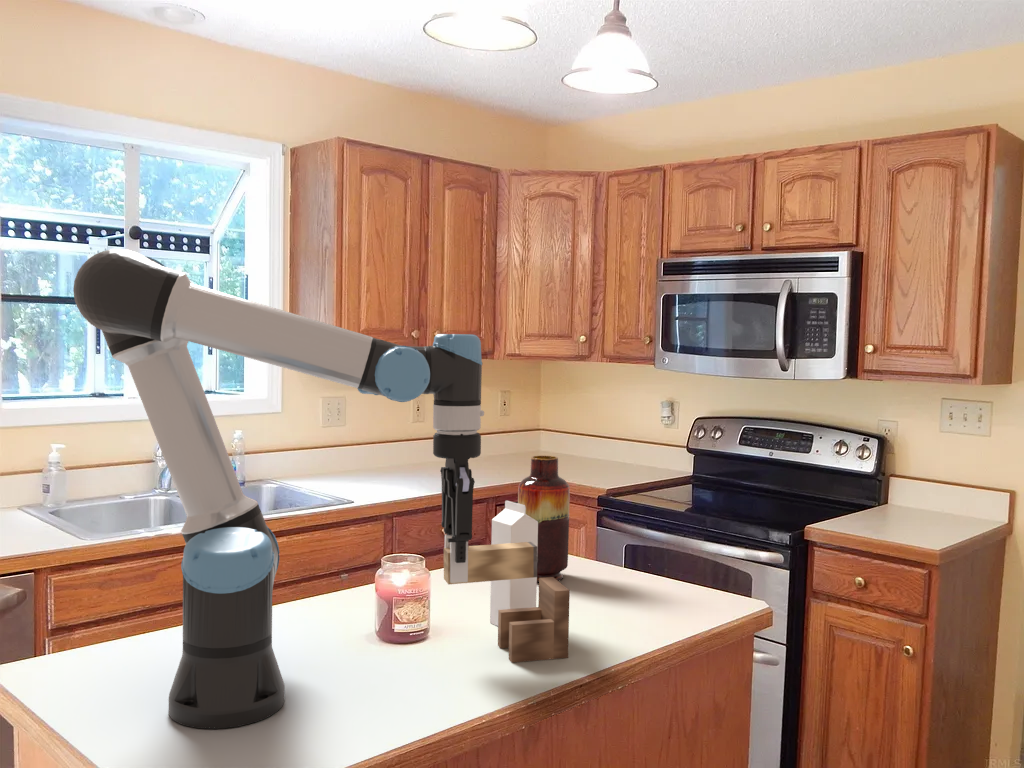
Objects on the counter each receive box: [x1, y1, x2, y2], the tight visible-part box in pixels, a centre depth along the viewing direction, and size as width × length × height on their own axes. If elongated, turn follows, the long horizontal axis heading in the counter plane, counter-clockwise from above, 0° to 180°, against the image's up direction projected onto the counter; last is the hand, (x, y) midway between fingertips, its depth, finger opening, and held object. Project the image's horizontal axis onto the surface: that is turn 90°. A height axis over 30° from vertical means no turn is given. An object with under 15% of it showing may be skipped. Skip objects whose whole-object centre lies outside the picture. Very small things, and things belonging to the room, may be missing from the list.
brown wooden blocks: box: [497, 577, 571, 663], centre depth 145 cm, size 10×8×11 cm
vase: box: [517, 455, 571, 582], centre depth 190 cm, size 11×11×26 cm
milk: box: [489, 500, 538, 627], centre depth 158 cm, size 6×6×22 cm
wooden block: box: [443, 542, 537, 585], centre depth 142 cm, size 15×4×5 cm, turn 106°
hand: (455, 578), depth 141 cm, fingers closed on wooden block, 3 cm apart
